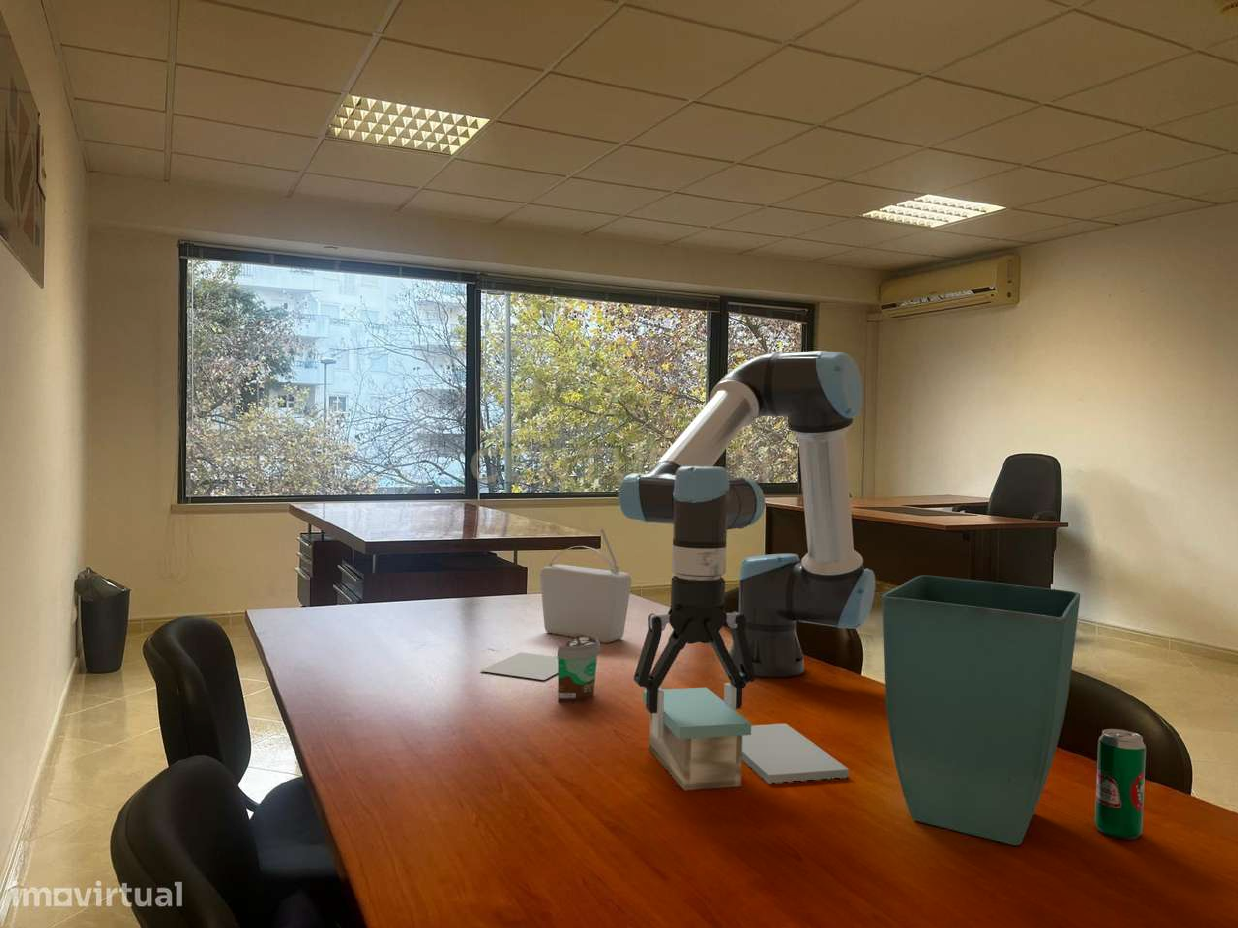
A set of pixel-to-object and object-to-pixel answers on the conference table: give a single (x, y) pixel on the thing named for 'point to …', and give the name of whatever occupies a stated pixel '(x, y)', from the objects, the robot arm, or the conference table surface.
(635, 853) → the conference table surface
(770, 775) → the mat
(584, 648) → the food container
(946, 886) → the conference table surface
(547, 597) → the radio
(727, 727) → the lid
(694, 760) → the box
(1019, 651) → the flower pot
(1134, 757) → the soda can
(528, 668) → the paper stack
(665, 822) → the conference table surface
